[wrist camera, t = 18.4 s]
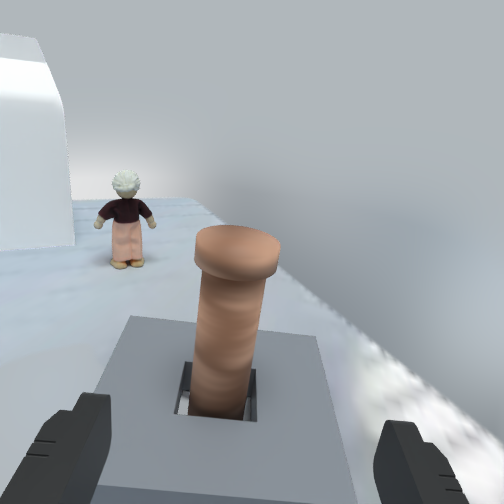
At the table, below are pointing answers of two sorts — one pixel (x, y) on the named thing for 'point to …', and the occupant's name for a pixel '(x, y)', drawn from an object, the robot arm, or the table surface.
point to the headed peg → (228, 316)
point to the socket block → (219, 426)
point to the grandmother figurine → (126, 220)
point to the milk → (32, 151)
